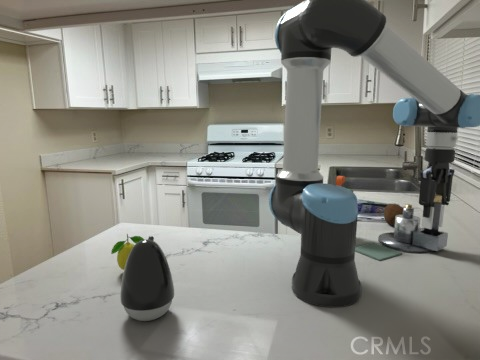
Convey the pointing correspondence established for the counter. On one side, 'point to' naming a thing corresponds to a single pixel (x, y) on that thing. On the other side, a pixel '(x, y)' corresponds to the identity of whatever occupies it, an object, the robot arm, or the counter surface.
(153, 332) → the counter surface
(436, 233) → the gold capped bottle
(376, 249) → the mat
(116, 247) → the lemon
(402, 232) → the grey cylinder with box
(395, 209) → the potato
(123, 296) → the black egg-shaped pod
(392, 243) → the base
